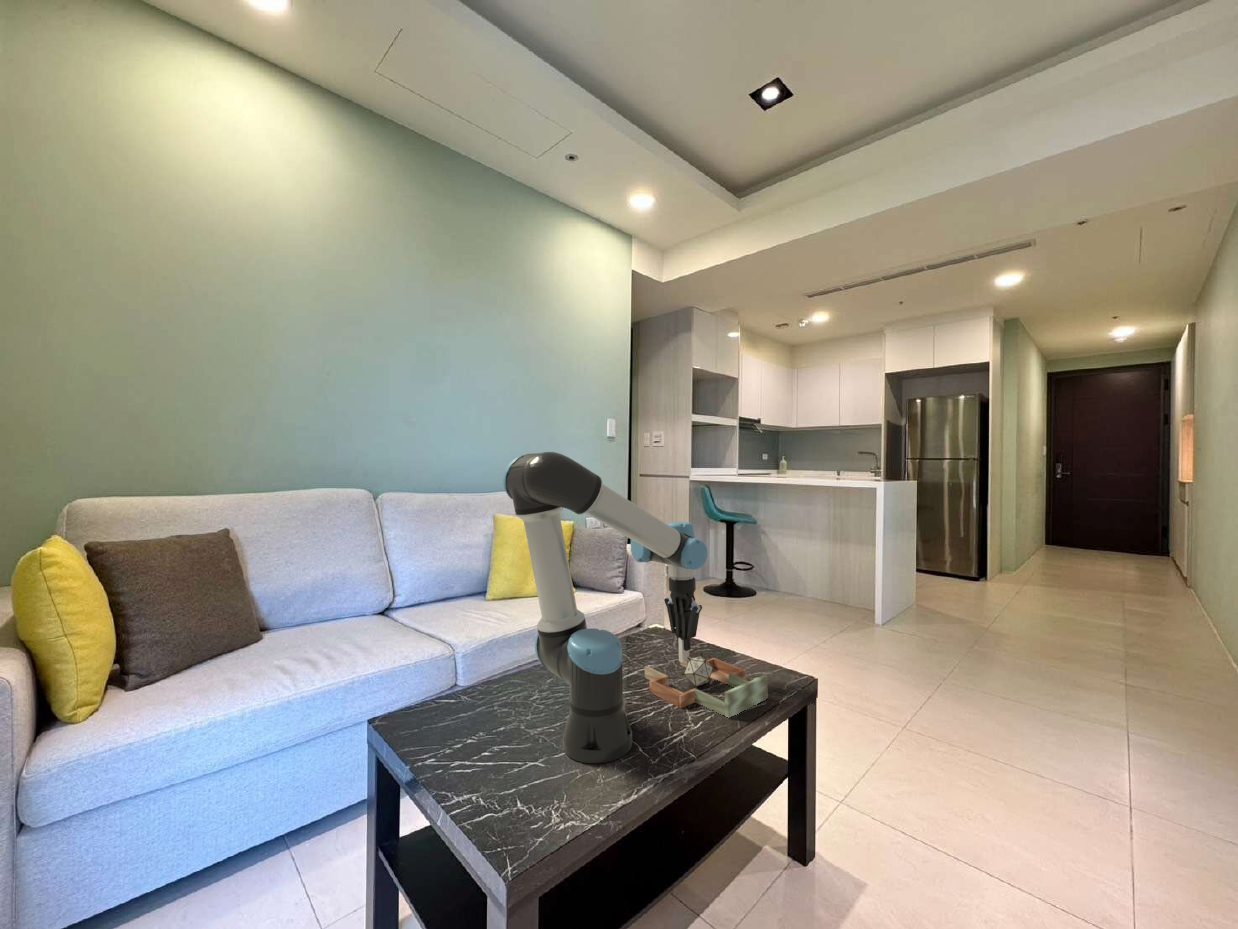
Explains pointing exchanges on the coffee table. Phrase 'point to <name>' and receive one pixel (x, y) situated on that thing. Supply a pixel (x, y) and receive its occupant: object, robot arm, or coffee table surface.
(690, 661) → the game die
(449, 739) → the coffee table surface
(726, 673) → the trap box
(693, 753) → the coffee table surface
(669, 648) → the coffee table surface
